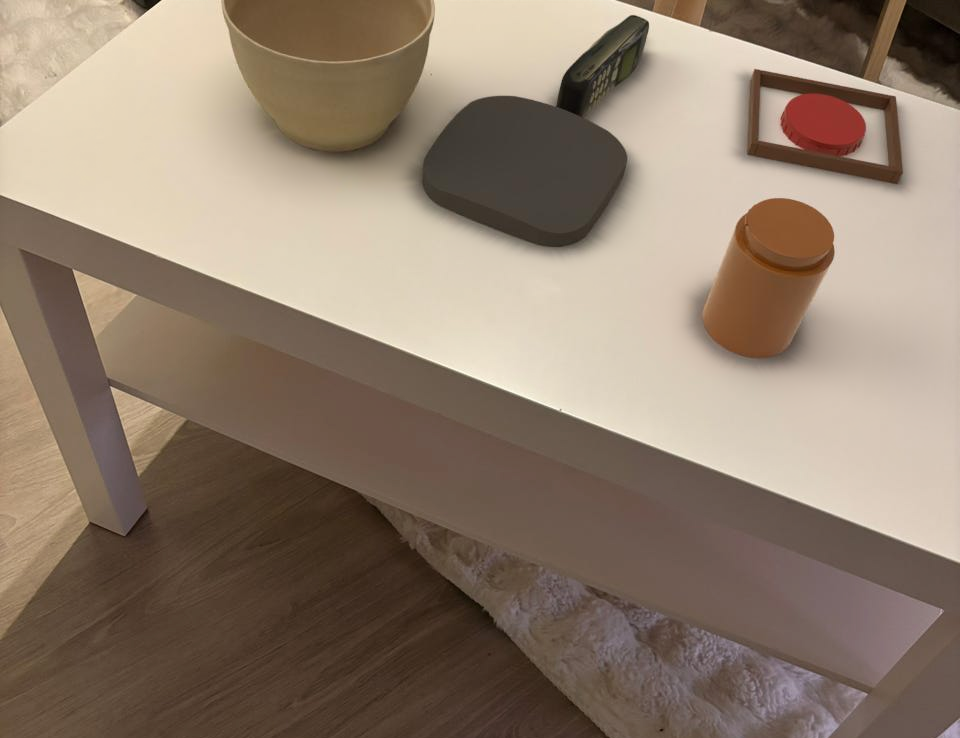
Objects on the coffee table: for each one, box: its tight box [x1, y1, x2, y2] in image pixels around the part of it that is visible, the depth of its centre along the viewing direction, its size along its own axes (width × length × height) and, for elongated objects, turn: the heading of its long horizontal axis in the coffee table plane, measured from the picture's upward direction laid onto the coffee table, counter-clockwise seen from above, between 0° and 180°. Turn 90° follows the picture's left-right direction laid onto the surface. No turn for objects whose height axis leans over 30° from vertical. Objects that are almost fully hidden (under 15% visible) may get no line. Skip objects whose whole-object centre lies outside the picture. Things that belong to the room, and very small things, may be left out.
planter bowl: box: [221, 0, 436, 153], centre depth 82 cm, size 16×16×11 cm
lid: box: [779, 94, 867, 157], centre depth 91 cm, size 7×7×2 cm
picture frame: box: [746, 68, 904, 185], centre depth 91 cm, size 13×11×2 cm
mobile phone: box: [555, 14, 650, 119], centre depth 91 cm, size 5×3×15 cm
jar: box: [701, 197, 836, 359], centre depth 74 cm, size 7×7×10 cm
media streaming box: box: [421, 95, 628, 248], centre depth 84 cm, size 15×15×3 cm
